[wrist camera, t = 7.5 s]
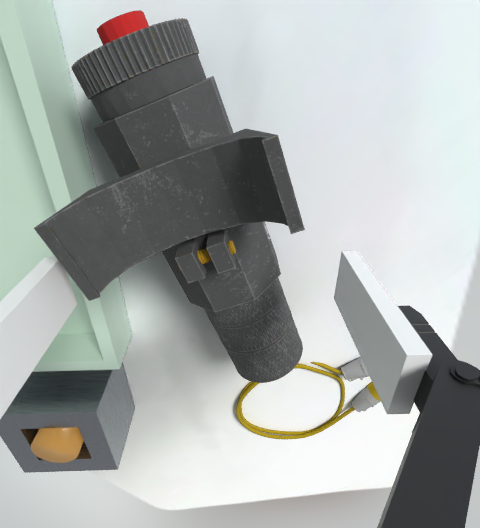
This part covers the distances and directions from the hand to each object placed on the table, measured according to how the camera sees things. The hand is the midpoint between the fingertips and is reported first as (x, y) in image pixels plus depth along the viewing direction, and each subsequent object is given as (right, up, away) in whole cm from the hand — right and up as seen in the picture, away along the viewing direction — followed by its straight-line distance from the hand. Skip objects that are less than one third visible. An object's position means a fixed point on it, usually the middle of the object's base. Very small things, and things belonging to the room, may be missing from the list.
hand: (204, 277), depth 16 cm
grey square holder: (-13, -11, +16) cm, 23 cm away
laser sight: (0, +4, +7) cm, 9 cm away
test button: (-13, -12, +14) cm, 23 cm away
